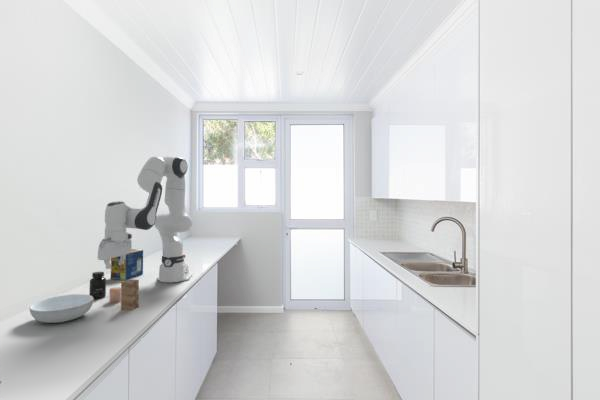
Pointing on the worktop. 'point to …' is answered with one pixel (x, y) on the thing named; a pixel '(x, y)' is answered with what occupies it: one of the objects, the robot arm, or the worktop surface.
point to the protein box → (128, 266)
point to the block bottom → (130, 304)
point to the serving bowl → (61, 308)
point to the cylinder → (115, 295)
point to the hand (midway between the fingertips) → (115, 266)
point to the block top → (129, 285)
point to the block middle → (129, 295)
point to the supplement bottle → (98, 285)
